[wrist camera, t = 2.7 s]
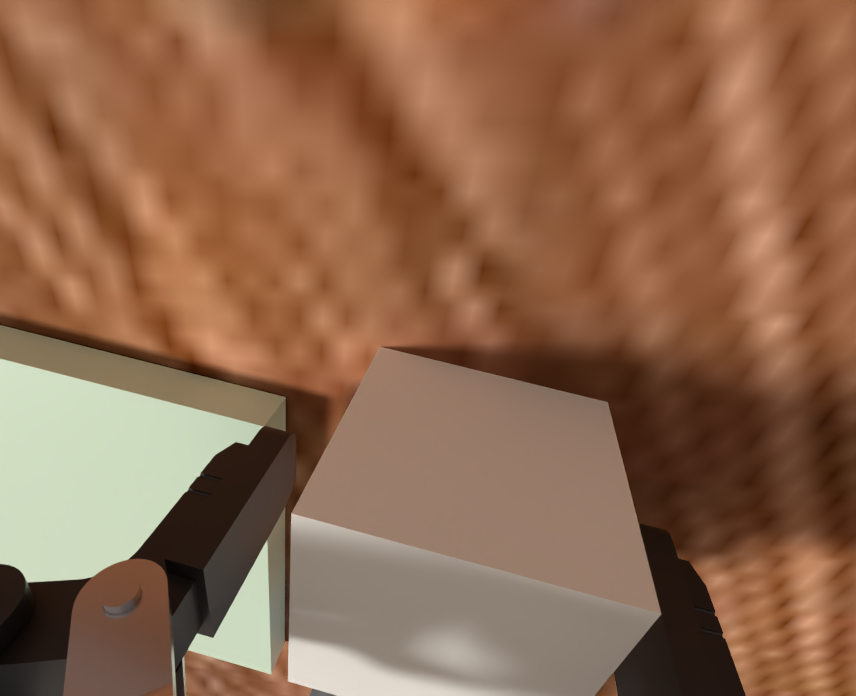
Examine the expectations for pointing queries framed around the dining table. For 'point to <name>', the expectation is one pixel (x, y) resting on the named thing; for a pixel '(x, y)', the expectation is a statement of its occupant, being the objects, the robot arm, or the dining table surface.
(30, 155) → the dining table surface
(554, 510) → the white cube
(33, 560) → the base plate
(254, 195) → the dining table surface
